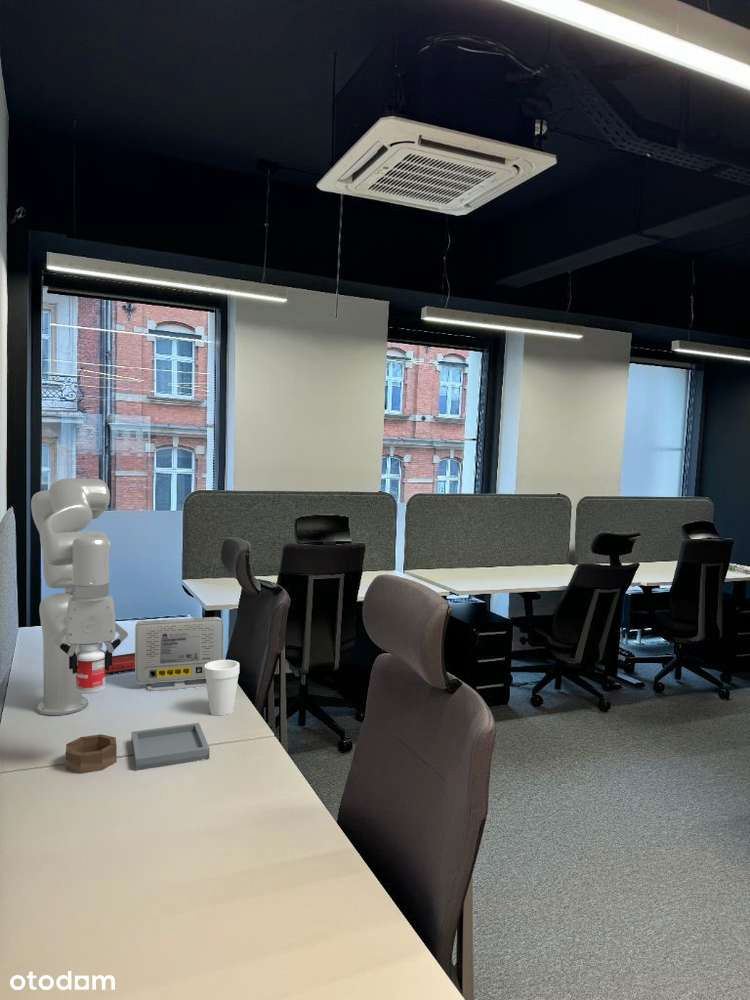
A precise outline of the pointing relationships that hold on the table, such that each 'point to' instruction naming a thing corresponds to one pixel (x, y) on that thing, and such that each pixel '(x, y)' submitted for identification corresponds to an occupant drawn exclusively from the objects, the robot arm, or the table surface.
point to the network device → (176, 650)
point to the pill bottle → (90, 669)
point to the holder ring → (91, 753)
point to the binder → (122, 663)
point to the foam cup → (221, 685)
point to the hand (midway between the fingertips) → (91, 669)
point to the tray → (169, 746)
